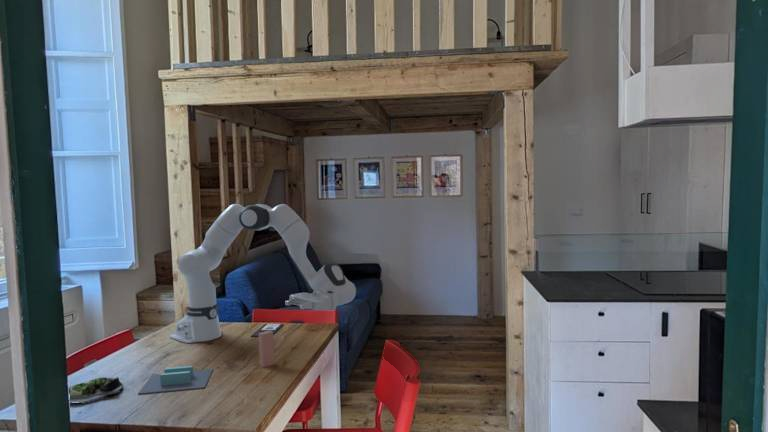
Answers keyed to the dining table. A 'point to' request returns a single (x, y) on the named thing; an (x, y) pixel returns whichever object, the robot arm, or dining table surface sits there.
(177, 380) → the slotted rack
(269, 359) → the salmon orange block
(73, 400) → the salad plate
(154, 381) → the mat
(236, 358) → the dining table surface
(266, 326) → the chocolate bar
